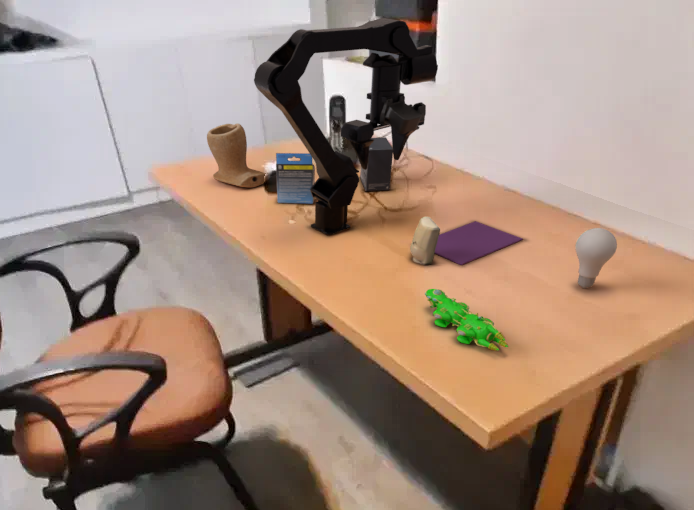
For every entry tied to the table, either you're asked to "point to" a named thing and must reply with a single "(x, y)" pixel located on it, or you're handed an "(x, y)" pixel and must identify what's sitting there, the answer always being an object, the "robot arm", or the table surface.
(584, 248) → the lightbulb
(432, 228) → the grey rounded block
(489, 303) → the table surface
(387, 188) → the small box
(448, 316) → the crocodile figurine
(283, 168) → the tape cartridge
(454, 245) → the felt cloth
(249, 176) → the tan boot-shaped vase
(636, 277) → the table surface
